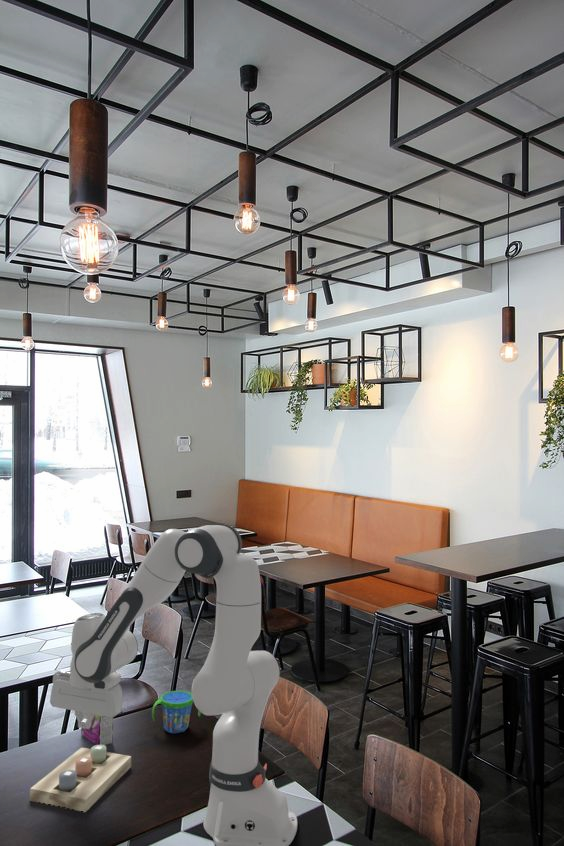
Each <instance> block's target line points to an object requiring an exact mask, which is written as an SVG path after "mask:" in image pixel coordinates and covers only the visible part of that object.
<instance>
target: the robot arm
mask: <svg viewBox="0 0 564 846" xmlns="http://www.w3.org/2000/svg"><path fill="white" fill-rule="evenodd" d="M242 548H243V540H242V537H241V534H240V532H239V531H238V530H237V529H236V528H235V527H233V526H232V525H229V524H225V523H224V524H223V523H218V524H213V525H212V524H208V525H206V524H205V525H202V526H199V527H196V528H192V529H190V530H187V531H186V532H185V531H184V530H181V529H178V528H169V529H167V530H165V531H163V532H162V533H161V534H160V536H159V537H158V538H157V539H156V540H155V542H153V544H152V545H151V547H150V548H149V550H148V552H147V553H146V554H145V556H144V557H143V559H142V561H141V563H140V565H139V566H138V568H137V570H136V572H135V573H134V575H133V576H132V578H131V580H130V581H129V583H128V584H127V586H126V587H125V589H123V591H122V593H121V594H120V596H119V597H118V598H117V600H116V601H115V602H114V604H113V605H112V606H111V607H110V610H109V611H108V613H107V614H106V615H105V614H103V613H100V612H95V613H93V612H92V613H89V614H84V615H82V616H80V617H78V618H77V619H76V620H75V621H74V624H73V627H72V633H71V642H70V643H71V644H70V645H71V646H70V649H71V651H70V652H71V661H70V666H69V671H64V670H58V671H57V672H55V673H54V674H53V676H52V686H51V690H50V698H49V704H50V706H51V707H52V708H59V709H62V710H63V709H64V710H68V711H69V710H70V711H74V716H75V718H76V720H77V728H80V729H81V728H85V729H89V728H90V727H91V720H92V719H93V717H94V716H95V714H97V715H103V716H108V717H114V718H115V717H116V716H117V715H118V714H119V713H120V712H121V711H122V709H123V689H122V686H121V685H120V682H121V680H122V676H121V674H120V673H119V672H118V671H119V670H120V669H122V668H123V667H125V666H127V665H129V664H130V663H131V662H133V661H134V659H136V657H137V655H138V651H139V644H138V640H137V638H136V636H135V634H134V633H133V632H132V631H131V630H129V628H130V627H131V625H132V624H133V623H134V622H135V621H137V619H139V618H140V617H142V615H144V614H145V613H147V612H149V611H150V610H151V609H153V608H155V607H157V606H158V605H160V604H161V603H163V602H165V601H166V600H167V599H168V598H169V597H170V596H171V594H173V592H174V591H175V590H176V588H177V587H178V586H179V584H180V583H181V580H182V578H183V577H184V575H185V574H186V572H188V573H191V574H193V575H197V576H200V577H202V578H204V579H212V578H213V579H214V580H215V584H216V596H215V597H216V600H215V601H216V602H215V603H216V604H215V621H214V622H215V623H214V625H215V626H214V628H215V629H214V634H213V639H212V641H211V642H212V643H211V646H210V649H209V651H208V654H207V657H206V659H205V662H204V664H203V666H202V667H201V668H200V671H199V672H198V673H197V674H196V676H194V679H193V680H192V685H191V692H190V693H191V694H192V699H193V704H194V705H195V707H196V709H197V710H198V711H200V712H201V714H203V715H204V716H209V717H210V716H219V715H221V716H220V718H218V720H217V722H216V724H215V726H214V727H213V728H214V729H213V731H212V756H211V761H210V766H209V777H208V778H209V786H210V791H209V799H208V804H207V808H206V813H205V814H204V815H205V816H204V819H203V829H204V831H205V832H206V833H207V835H209V836H210V837H211V838H212V839H213V840H212V841H213V843H214V845H215V846H289V845H291V843H292V842H293V841H294V840H295V839H294V838H295V836H296V834H297V831H298V817H297V816H296V814H295V812H292V811H290V810H289V807H288V802H287V798H286V796H285V793H283V792H282V791H281V790H279V789H278V788H277V787H276V786H275V785H274V784H273V783H271V781H269V780H268V778H266V771H267V769H268V768H267V766H268V764H267V763H264V766H263V765H262V763H260V761H259V744H260V743H259V740H260V731H261V724H262V720H263V718H264V717H263V716H264V713H265V709H266V707H267V703H268V701H269V699H270V696H271V693H272V692H273V690H274V688H275V687H276V686H277V684H278V681H279V679H280V667H279V663H278V661H277V659H276V657H275V656H274V655H273V654H272V653H270V652H269V651H267V650H252V648H253V646H254V644H255V643H256V641H257V640H258V639H259V636H260V634H261V630H262V582H261V576H260V568H259V565H258V563H257V561H256V559H254V558H253V557H251V556H249V555H247V554H241V551H242ZM82 712H85V713H87V716H89V717H88V719H84V717H83V714H82Z"/></svg>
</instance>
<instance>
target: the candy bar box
mask: <svg viewBox="0 0 564 846" xmlns="http://www.w3.org/2000/svg"><path fill="white" fill-rule="evenodd" d="M82 714H83V717H84V719H88V717H89V716H87V713H85V712H82ZM114 718H115V716H114V717H108V716H103V715H97V714H95V716H94V717H93V719H92V720H91V727H90V728H89V729H85V728H80V729H81V731H80V733H81V734H80V736H81V737H83V738H85V739H86V740H87V741H89V742H90V743H92V744H93V745H94V746H95V745H105V746H106V747H107V746H108V745H111V744H113V742H114V741H113V740H114Z"/></svg>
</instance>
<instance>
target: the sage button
mask: <svg viewBox="0 0 564 846" xmlns="http://www.w3.org/2000/svg"><path fill="white" fill-rule="evenodd" d="M90 749H91V755H90V758H92V763H95V764H100V765H101V764H102V763H104V762H105V761H106V752H107V745H106V746H105V745H95V744H94V745H93V746H92V747H91V748H90Z"/></svg>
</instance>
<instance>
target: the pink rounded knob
mask: <svg viewBox="0 0 564 846" xmlns="http://www.w3.org/2000/svg"><path fill="white" fill-rule="evenodd" d="M75 771H76V772H77V776H79V777H84V778H87V777H88V776H89V775H90V774H91V773H92V758H90V757H81V758H79V759H77V760H76V766H75Z"/></svg>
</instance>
